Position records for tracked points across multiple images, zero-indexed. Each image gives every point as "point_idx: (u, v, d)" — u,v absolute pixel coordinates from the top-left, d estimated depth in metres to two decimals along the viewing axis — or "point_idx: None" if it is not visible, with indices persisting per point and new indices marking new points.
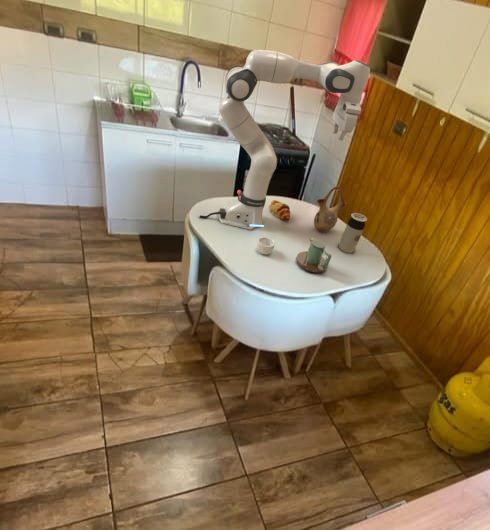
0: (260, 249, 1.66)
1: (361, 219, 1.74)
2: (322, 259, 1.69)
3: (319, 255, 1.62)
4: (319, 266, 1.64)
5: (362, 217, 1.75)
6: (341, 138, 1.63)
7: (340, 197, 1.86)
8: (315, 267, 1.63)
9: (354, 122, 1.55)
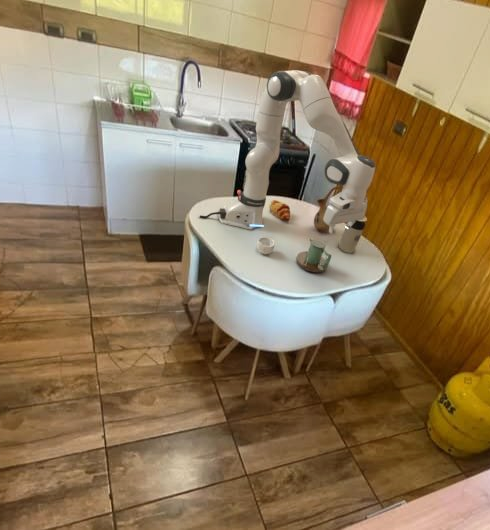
0: (260, 249, 1.66)
1: (361, 219, 1.74)
2: (322, 259, 1.69)
3: (319, 255, 1.62)
4: (319, 266, 1.64)
5: None
6: (330, 230, 1.48)
7: None
8: (315, 267, 1.63)
9: (332, 215, 1.40)
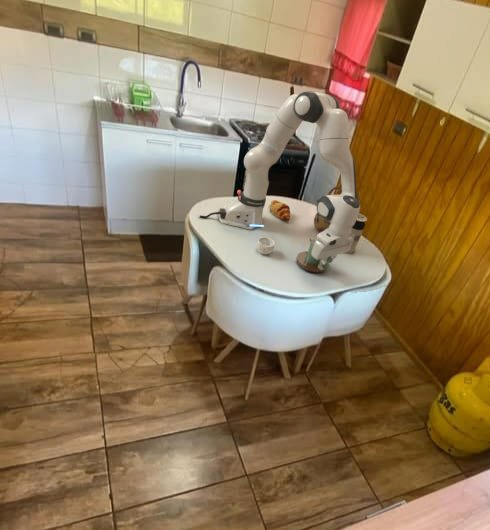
0: (260, 249, 1.66)
1: (361, 219, 1.74)
2: (322, 259, 1.69)
3: None
4: (319, 266, 1.64)
5: (362, 217, 1.75)
6: (323, 262, 1.58)
7: None
8: (315, 267, 1.63)
9: (319, 250, 1.49)
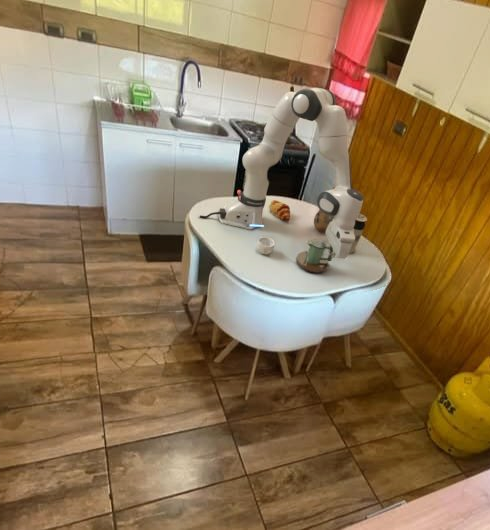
0: (260, 249, 1.66)
1: (361, 219, 1.74)
2: None
3: None
4: (322, 261, 1.68)
5: (362, 217, 1.75)
6: (333, 256, 1.63)
7: None
8: (323, 264, 1.66)
9: (348, 250, 1.53)
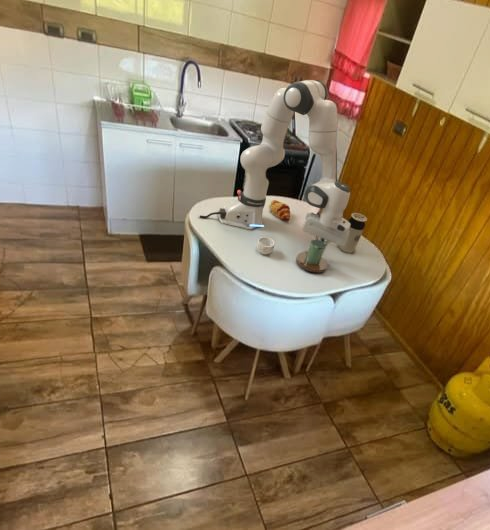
0: (260, 249, 1.66)
1: (361, 219, 1.74)
2: (302, 254, 1.69)
3: None
4: None
5: (362, 217, 1.75)
6: None
7: None
8: None
9: (348, 235, 1.63)
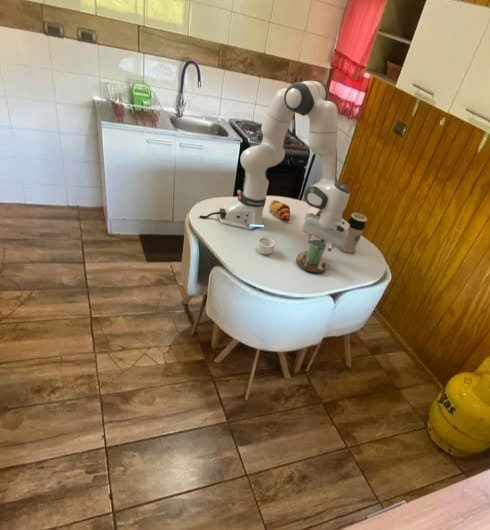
0: (260, 249, 1.66)
1: (361, 219, 1.74)
2: (302, 254, 1.69)
3: None
4: None
5: (362, 217, 1.75)
6: (331, 249, 1.69)
7: None
8: None
9: None
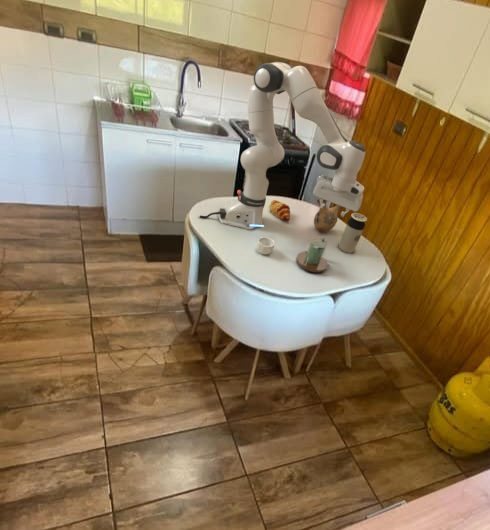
0: (260, 249, 1.66)
1: (361, 219, 1.74)
2: (302, 254, 1.69)
3: None
4: None
5: (362, 217, 1.75)
6: (344, 214, 1.60)
7: None
8: None
9: None
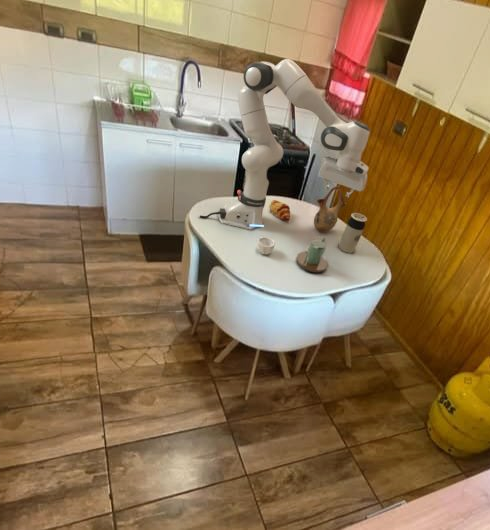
0: (260, 249, 1.66)
1: (361, 219, 1.74)
2: (302, 254, 1.69)
3: None
4: None
5: (362, 217, 1.75)
6: None
7: (340, 197, 1.86)
8: None
9: (366, 180, 1.58)
